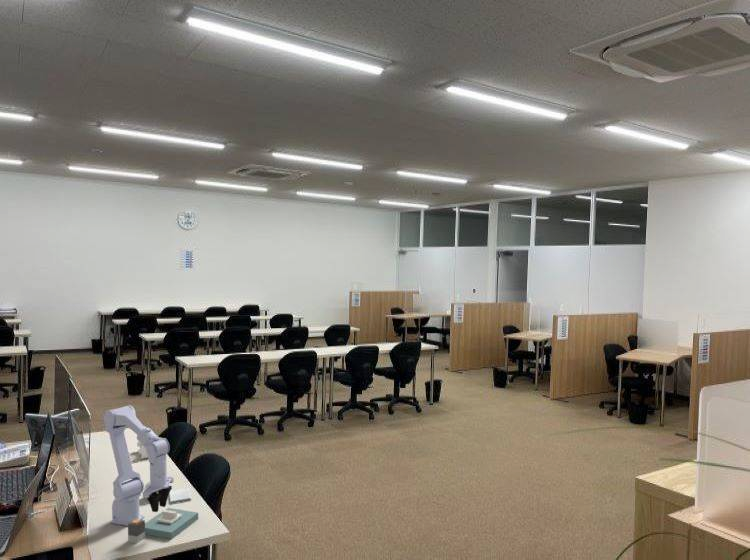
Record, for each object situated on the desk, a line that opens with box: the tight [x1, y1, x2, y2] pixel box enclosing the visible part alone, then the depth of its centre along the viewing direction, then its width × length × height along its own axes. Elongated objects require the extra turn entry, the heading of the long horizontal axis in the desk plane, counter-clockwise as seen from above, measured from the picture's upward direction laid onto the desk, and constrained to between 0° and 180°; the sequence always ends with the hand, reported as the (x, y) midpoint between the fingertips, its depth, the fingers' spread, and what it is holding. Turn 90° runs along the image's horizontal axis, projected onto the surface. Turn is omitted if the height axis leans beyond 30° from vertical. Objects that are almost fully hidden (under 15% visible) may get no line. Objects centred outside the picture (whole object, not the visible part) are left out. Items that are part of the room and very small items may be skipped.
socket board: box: [145, 507, 199, 540], centre depth 207 cm, size 14×16×2 cm
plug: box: [127, 519, 146, 544], centre depth 197 cm, size 4×4×7 cm
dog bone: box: [136, 441, 148, 460], centre depth 282 cm, size 15×9×8 cm, turn 26°
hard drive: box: [168, 486, 192, 505], centre depth 233 cm, size 2×8×12 cm
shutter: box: [157, 509, 182, 524], centre depth 207 cm, size 6×6×3 cm
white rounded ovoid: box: [143, 480, 158, 494], centre depth 233 cm, size 10×7×7 cm
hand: (158, 508), depth 201 cm, fingers open, 4 cm apart
